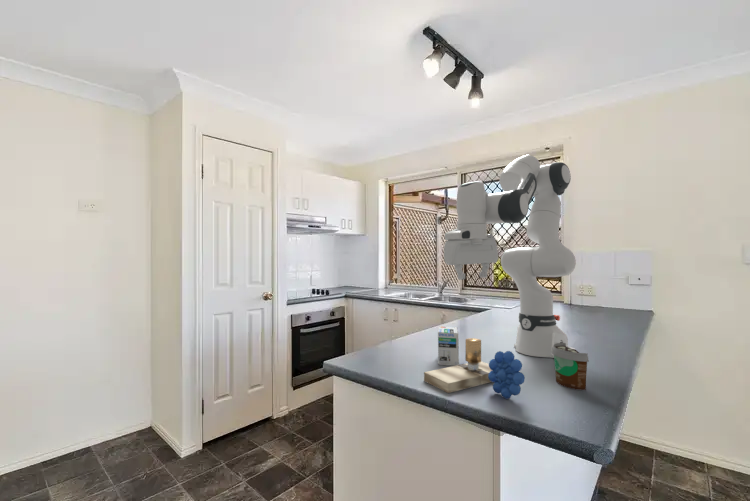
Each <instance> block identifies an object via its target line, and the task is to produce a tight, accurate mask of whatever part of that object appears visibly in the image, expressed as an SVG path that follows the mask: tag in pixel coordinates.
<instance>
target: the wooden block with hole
mask: <svg viewBox="0 0 750 501" xmlns="http://www.w3.org/2000/svg"><path fill="white" fill-rule="evenodd" d="M491 371H493V370H491V369H490V367H489V363H487V362H485V361H481V362H480V363H479V371H476V372H470V371H468V362H467V363H459V365H457V366H447V367H444V368H437V369H433V370H429V371H424V372H423V381H424V382H425V383H427V384H430V385H432V386H433V387H435V388H438V389H439V390H441V391H443V392H445V393H448V394H450V393H455V392H458V391H462V390H465V389H469V388H474V387H478V386H481V385H485V384H489V383H492V382H491V381H490V380H489V378H488V374H489V372H491Z"/></svg>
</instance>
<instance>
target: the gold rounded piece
mask: <svg viewBox="0 0 750 501" xmlns="http://www.w3.org/2000/svg"><path fill="white" fill-rule="evenodd" d="M464 359H465V361H466V362H467V363H468V371H470V372H476V371H479V363H480V362H482V340H481V339H480V338H474V337H472V338H470V337H467V338H465V358H464Z"/></svg>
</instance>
